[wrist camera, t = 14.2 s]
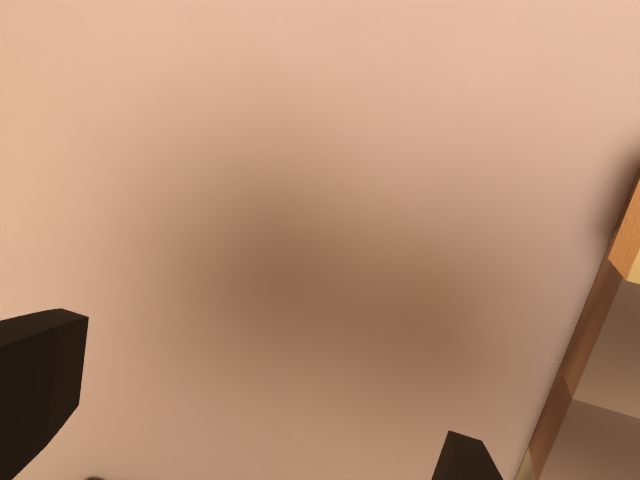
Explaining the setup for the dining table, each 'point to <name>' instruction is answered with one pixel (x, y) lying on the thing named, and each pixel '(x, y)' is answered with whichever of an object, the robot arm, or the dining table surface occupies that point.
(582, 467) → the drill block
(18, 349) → the robot arm
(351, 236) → the dining table surface
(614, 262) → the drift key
